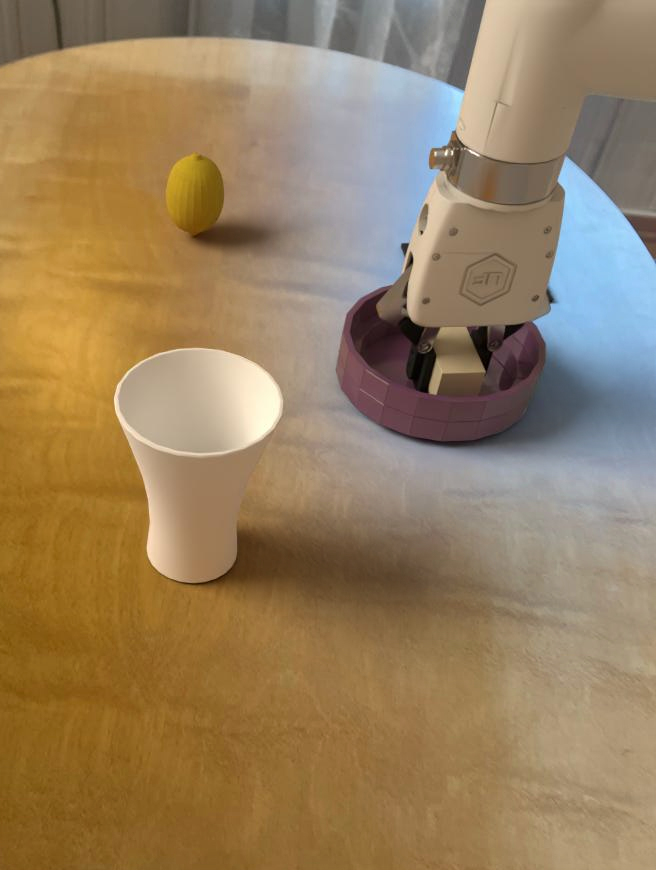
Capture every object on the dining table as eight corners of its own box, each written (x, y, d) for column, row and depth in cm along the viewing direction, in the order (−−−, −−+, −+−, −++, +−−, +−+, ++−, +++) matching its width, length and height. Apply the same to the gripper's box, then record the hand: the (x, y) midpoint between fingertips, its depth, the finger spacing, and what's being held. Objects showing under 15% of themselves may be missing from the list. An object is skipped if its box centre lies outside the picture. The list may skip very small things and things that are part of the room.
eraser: (451, 359, 86) (463, 319, 83) (472, 412, 82) (486, 372, 78) (411, 361, 86) (421, 320, 82) (430, 414, 81) (442, 373, 78)
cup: (191, 479, 77) (198, 326, 66) (294, 552, 72) (319, 401, 62) (88, 548, 72) (78, 396, 62) (192, 630, 68) (199, 482, 57)
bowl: (498, 323, 90) (512, 278, 87) (554, 443, 80) (573, 397, 77) (320, 328, 89) (327, 283, 86) (355, 450, 79) (365, 405, 76)
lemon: (233, 235, 98) (238, 153, 92) (195, 257, 96) (198, 174, 90) (191, 214, 101) (194, 133, 94) (153, 234, 98) (153, 153, 92)
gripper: (397, 195, 66) (352, 416, 81) (640, 190, 67) (553, 409, 82) (374, 140, 71) (335, 358, 85) (602, 136, 72) (526, 352, 86)
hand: (442, 381), depth 83 cm, fingers closed on eraser, 3 cm apart
